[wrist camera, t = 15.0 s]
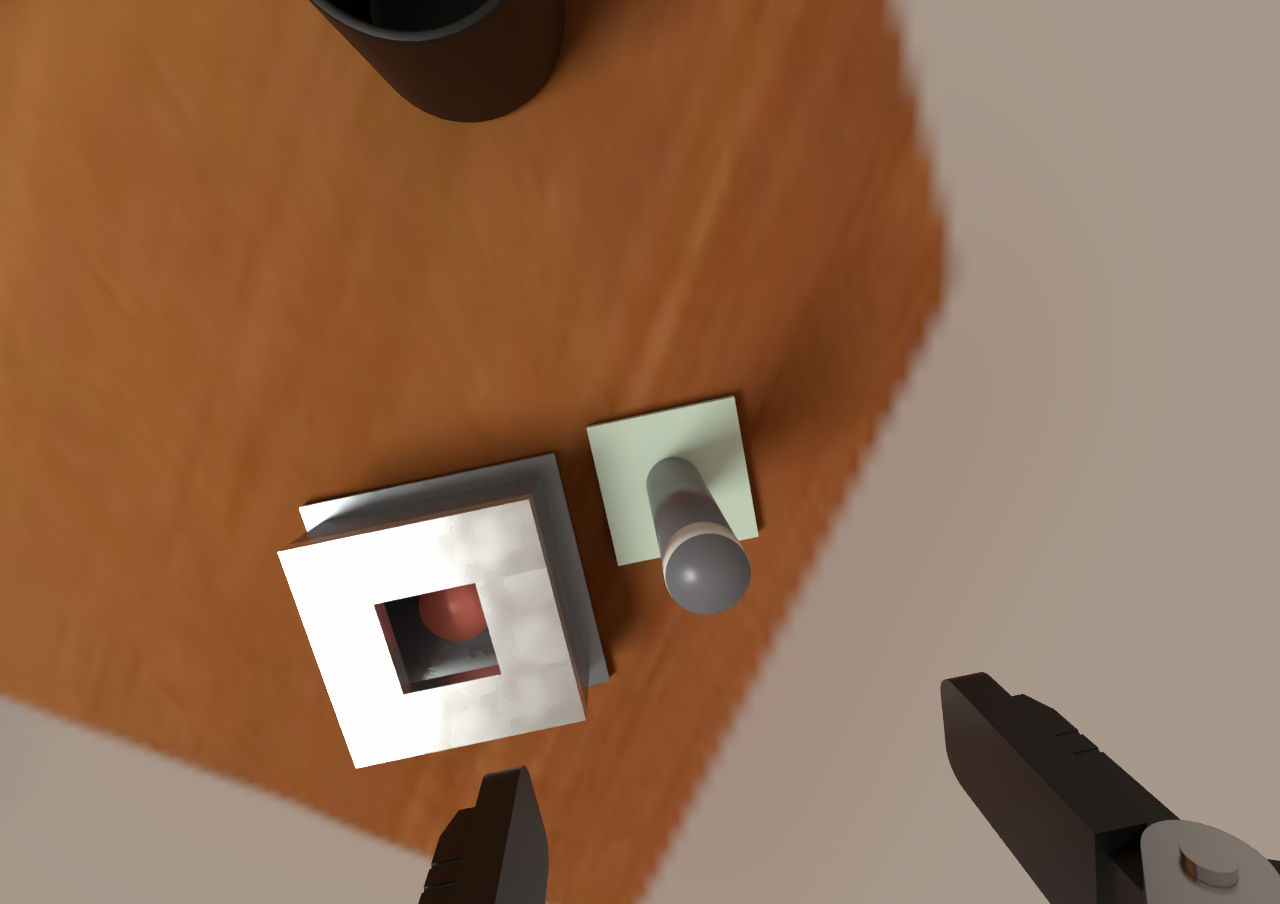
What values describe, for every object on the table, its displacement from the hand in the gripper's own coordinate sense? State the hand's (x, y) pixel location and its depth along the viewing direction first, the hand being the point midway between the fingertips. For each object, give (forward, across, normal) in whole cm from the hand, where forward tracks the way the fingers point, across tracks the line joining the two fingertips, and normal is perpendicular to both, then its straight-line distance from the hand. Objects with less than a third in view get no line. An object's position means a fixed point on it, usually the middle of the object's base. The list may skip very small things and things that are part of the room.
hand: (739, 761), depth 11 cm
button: (+22, +12, +5) cm, 25 cm away
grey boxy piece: (+23, +12, +5) cm, 26 cm away
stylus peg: (+22, -1, +1) cm, 22 cm away
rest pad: (+22, -1, +1) cm, 23 cm away
